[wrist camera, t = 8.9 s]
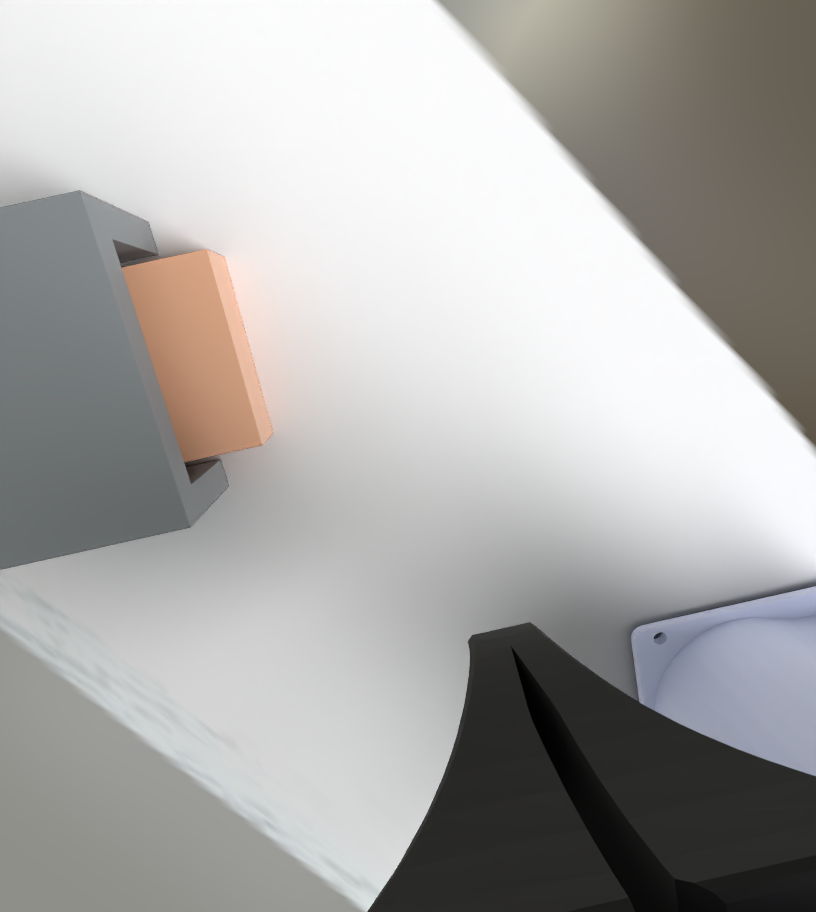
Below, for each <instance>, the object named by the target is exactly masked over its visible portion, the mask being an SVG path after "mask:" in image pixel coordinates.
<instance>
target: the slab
mask: <svg viewBox="0 0 816 912" xmlns="http://www.w3.org/2000/svg"><path fill="white" fill-rule="evenodd" d="M121 268H122V271H123V274H124V277H125V280H126V283H127V286H128V289H129V293H130V296H131V299H132V302H133V305H134V308H135V311H136V314H137V317H138V321H139V324H140V327H141V330H142V333H143V336H144V339H145V342H146V345H147V348H148V352H149V355H150V358H151V361H152V364H153V367H154V370H155V373H156V376H157V380H158V383H159V386H160V389H161V392H162V395H163V398H164V401H165V404H166V408H167V411H168V414H169V417H170V420H171V423H172V426H173V429H174V432H175V436H176V439H177V442H178V445H179V448H180V451H181V454H182V457H183V460H184V462H188V461H193V460H197V459H202V458H206V457H211V456H216V455H220V454H225V453H229V452H234V451H238V450H243V449H247V448H252V447H256V446H261V445H263V444H264V443H265V442H266V441H267V440H268V439H269V438H270V437H271V435H272V434H273V430H272V426H271V423H270V419H269V415H268V412H267V408H266V405H265V401H264V397H263V394H262V390H261V386H260V383H259V379H258V376H257V372H256V368H255V365H254V361H253V357H252V354H251V350H250V347H249V343H248V339H247V336H246V332H245V328H244V325H243V321H242V318H241V314H240V310H239V307H238V303H237V299H236V296H235V292H234V288H233V285H232V281H231V278H230V274H229V270H228V267H227V263H226V259H225V257H223V256H221V255H219V254H217V253H215V252H212V251H210V250H208V249H204V250H200V251H195V252H190V253H186V254H181V255H177V256H172V257H167V258H163V259H158V260H154V261H149V262H144V263H140V264H135V265H131V266H126V267H121Z"/></svg>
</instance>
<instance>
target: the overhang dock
mask: <svg viewBox="0 0 816 912" xmlns="http://www.w3.org/2000/svg"><path fill="white" fill-rule="evenodd" d="M153 255H158V252H157V249H156V245H155V242H154V239H153V235H152V232H151V229H150V226H149V222H147V221H145V220H143V219H141V218H139V217H136V216H134V215H132V214H130V213H128V212H126V211H123V210H121V209H119V208H117V207H115V206H113V205H110V204H108V203H106V202H104V201H102V200H100V199H97V198H95V197H93V196H91V195H89V194H87V193H84V192H82V191H80V190H79V191H74V192H70V193H65V194H61V195H56V196H52V197H47V198H43V199H38V200H33V201H29V202H24V203H20V204H15V205H11V206H6V207H2V208H0V570H1V569H6V568H10V567H15V566H19V565H24V564H28V563H33V562H37V561H42V560H46V559H51V558H55V557H60V556H64V555H69V554H73V553H78V552H82V551H87V550H91V549H96V548H100V547H105V546H109V545H114V544H118V543H123V542H127V541H132V540H136V539H141V538H145V537H150V536H154V535H159V534H163V533H168V532H172V531H177V530H181V529H186V528H190V527H191V526H192V525H193V524H194V523H195V522H196V521H197V520H198V519H199V518H200V517H201V515H202V514H203V513H204V512H205V511H206V510H207V509H208V508H209V507H210V506H211V505H212V504H213V503H214V502H215V500H216V499H217V498H218V497H219V496H220V495H221V494H222V493H223V492H224V491H225V490H226V489H227V488H228V486H229V485H228V481H227V478H226V475H225V472H224V468H223V465H222V462H221V460H216V461H212V462H207V463H203V464H198V465H194V466H189V467H185V464H184V460H183V457H182V454H181V451H180V448H179V445H178V442H177V439H176V436H175V432H174V429H173V426H172V423H171V420H170V417H169V414H168V411H167V408H166V404H165V401H164V398H163V395H162V392H161V389H160V386H159V383H158V380H157V376H156V373H155V370H154V367H153V364H152V361H151V358H150V355H149V352H148V348H147V345H146V342H145V339H144V336H143V333H142V330H141V327H140V324H139V321H138V317H137V314H136V311H135V308H134V305H133V302H132V299H131V296H130V293H129V289H128V286H127V283H126V280H125V277H124V274H123V271H122V268H121V265H120V263H122V262H126V261H131V260H135V259H140V258H144V257H149V256H153Z"/></svg>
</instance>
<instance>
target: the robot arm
mask: <svg viewBox="0 0 816 912" xmlns="http://www.w3.org/2000/svg"><path fill="white" fill-rule="evenodd" d="M659 632H662V633H661V636H660V637H659V638H657V639H654V636H655V635H656V634H657V633H659ZM631 643H632V650H633V658H634V665H635V673H636V680H637V688H638V695H639V702H638V701H636V700H634V699H633V698H631V697H630V696H628V695H626V694H625V693H623V692H622V691H620V690H619V689H617V688H616V687H614V686H612V685H611V684H609V683H608V682H607V681H605V680H604V679H602V678H601V677H599V676H598V675H596V674H595V673H594V672H592V671H591V670H590V669H588V668H587V667H585V666H584V665H583V664H581V663H580V662H579V661H577V660H576V659H575V658H573V657H572V656H571V655H569V654H568V653H567V652H566V651H564V650H563V649H562V648H561V647H560V646H558V645H557V644H556V643H555V642H553V641H552V640H551V639H550V638H549V637H547V636H546V635H545V634H544V633H543V632H542V631H541V630H539V629H538V628H537V627H536V626H534V625H533V624H531V623H530V622H529V623H525V624H520V625H516V626H511V627H507V628H502V629H498V630H494V631H489V632H485V633H480V634H476V635H472V636H471V638H470V639H469V641H468V644H469V649H470V668H469V679H468V685H467V692H466V699H465V704H464V709H463V713H462V717H461V721H460V725H459V729H458V733H457V737H456V740H455V743H454V747H453V750H452V753H451V756H450V759H449V762H448V764H447V767H446V770H445V773H444V775H443V778H442V780H441V783H440V785H439V787H438V790H437V792H436V794H435V797H434V799H433V801H432V804H431V806H430V808H429V810H428V812H427V814H426V816H425V818H424V820H423V822H422V824H421V826H420V828H419V829H418V831H417V833H416V835H415V837H414V838H413V840H412V842H411V844H410V846H409V848H408V849H407V851H406V853H405V855H404V857H403V858H402V860H401V862H400V864H399V865H398V867H397V868H396V870H395V872H394V873H393V875H392V876H391V878H390V879H389V881H388V882H387V884H386V885H385V887H384V888H383V889H382V891H381V892H380V894H379V895H378V897H377V898H376V900H375V901H374V903H373V904H372V906H371V907H370V909H369V910H368V912H816V586H815V587H810V588H806V589H801V590H797V591H792V592H788V593H783V594H779V595H774V596H770V597H766V598H761V599H757V600H752V601H748V602H743V603H739V604H734V605H730V606H725V607H721V608H717V609H712V610H708V611H703V612H699V613H694V614H690V615H685V616H681V617H676V618H672V619H668V620H663V621H659V622H654V623H650V624H645V625H641V626H639V627H637V628H636V629H635V630H634V631H633V633H632V635H631Z"/></svg>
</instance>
